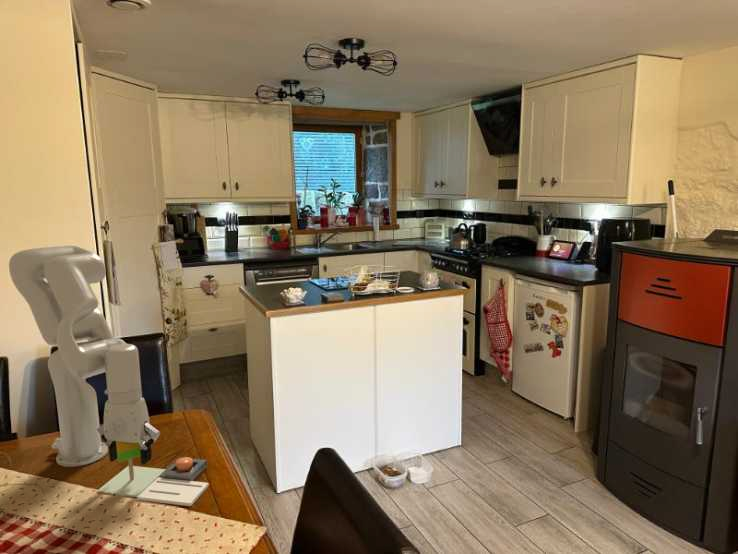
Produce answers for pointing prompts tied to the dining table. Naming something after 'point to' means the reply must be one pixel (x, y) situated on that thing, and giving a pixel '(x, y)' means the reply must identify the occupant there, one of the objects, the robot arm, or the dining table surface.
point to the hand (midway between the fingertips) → (130, 460)
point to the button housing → (188, 476)
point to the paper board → (173, 491)
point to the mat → (132, 481)
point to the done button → (184, 464)
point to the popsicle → (128, 454)
